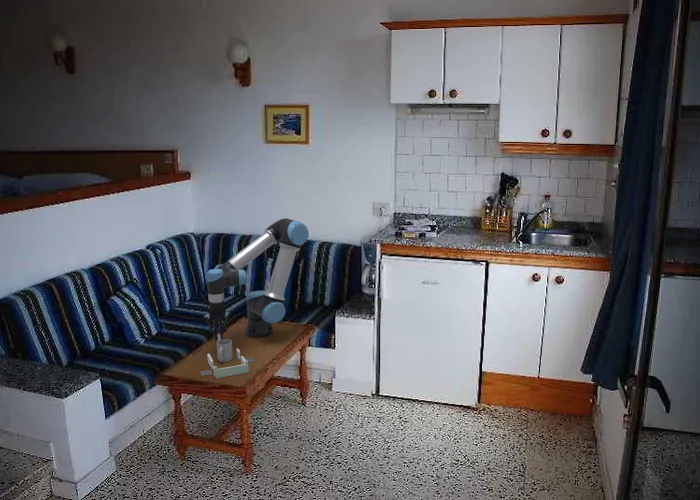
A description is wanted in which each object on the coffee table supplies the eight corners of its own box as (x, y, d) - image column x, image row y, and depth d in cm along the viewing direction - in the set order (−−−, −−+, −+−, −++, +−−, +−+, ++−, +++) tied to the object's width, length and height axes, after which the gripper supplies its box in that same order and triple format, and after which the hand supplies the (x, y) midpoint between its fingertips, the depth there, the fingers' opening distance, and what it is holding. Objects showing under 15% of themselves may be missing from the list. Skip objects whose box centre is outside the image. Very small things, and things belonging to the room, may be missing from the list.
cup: (235, 356, 289) (233, 339, 287) (227, 365, 279) (226, 347, 277) (220, 356, 290) (219, 338, 288) (213, 364, 280) (211, 346, 278)
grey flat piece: (249, 354, 291) (249, 344, 290) (260, 370, 273) (259, 359, 272) (196, 363, 281) (195, 353, 280) (203, 380, 263) (202, 370, 262)
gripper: (228, 297, 293) (230, 341, 298) (201, 300, 288) (204, 345, 293) (231, 301, 286) (233, 346, 292) (204, 304, 281) (207, 351, 287)
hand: (219, 346), depth 292 cm, fingers closed
